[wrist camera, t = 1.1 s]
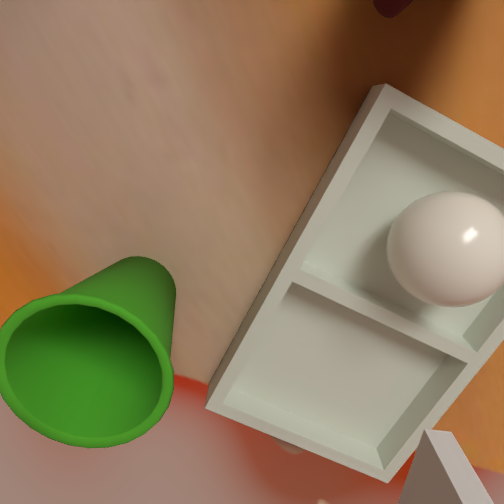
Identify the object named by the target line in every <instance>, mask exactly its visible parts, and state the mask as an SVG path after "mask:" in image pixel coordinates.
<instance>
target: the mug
mask: <svg viewBox="0 0 504 504" xmlns="http://www.w3.org/2000/svg"><path fill="white" fill-rule="evenodd" d="M412 1H413V0H373V3H374V6H375V8H376V9H377V11H378V12H379V13H380V14H381V15H383V16H385V17H387V18H391V17H394V16H396V15H397V14H398V13H400V12H401V11H402V10H403V9H404V8H406V7H407V6H408V5H409V4H410V3H411V2H412Z"/></svg>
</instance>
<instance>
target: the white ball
mask: <svg viewBox="0 0 504 504" xmlns="http://www.w3.org/2000/svg"><path fill="white" fill-rule="evenodd" d="M386 255H387V261H388V265H389V268H390V270H391V272H392V274H393V276H394V278H395V280H396V281H397V282H398V284H399V285H400V286H401V287H402V288H403V289H404V290H405V291H406V292H407V293H409V294H410V295H411V296H413V297H414V298H416V299H418V300H420V301H422V302H424V303H427V304H430V305H433V306H437V307H444V308H457V307H464V306H469V305H472V304H475V303H478V302H480V301H482V300H484V299H486V298H488V297H489V296H491V295H492V294H493V293H495V292H496V291H497V290H498V289H499V288H500V287H501V286H502V285H503V284H504V215H503V214H502V212H501V211H500V210H499V209H498V208H496V207H495V206H494V205H493V204H492V203H490V202H488V201H487V200H485V199H483V198H481V197H479V196H477V195H474V194H470V193H466V192H460V191H442V192H436V193H432V194H429V195H426V196H424V197H421V198H419V199H417V200H415V201H414V202H412V203H411V204H409V205H408V206H407V207H406V208H405V209H404V210H403V211H402V212H401V213H400V214H399V215H398V217H397V218H396V219H395V221H394V223H393V224H392V226H391V229H390V231H389V234H388V238H387V245H386Z"/></svg>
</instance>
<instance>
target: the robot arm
mask: <svg viewBox="0 0 504 504" xmlns="http://www.w3.org/2000/svg"><path fill="white" fill-rule="evenodd" d="M399 504H494V503H493V501H492V500H491V498H490V496H489V495H488V493H487V491H486V490H485V488H484V486H483V484H482V483H481V481H480V479H479V478H478V476H477V474H476V473H475V471H474V469H473V468H472V466H471V464H470V463H469V461H468V459H467V457H466V456H465V454H464V452H463V451H462V449H461V447H460V446H459V444H458V442H457V441H456V439H455V437H454V436H453V434H452V432H447V431H439V430H431V429H424V431H423V433H422V436H421V439H420V442H419V445H418V448H417V451H416V453H415V456H414V460H413V462H412V465H411V468H410V470H409V473H408V476H407V479H406V482H405V485H404V488H403V491H402V493H401V496H400V499H399Z"/></svg>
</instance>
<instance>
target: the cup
mask: <svg viewBox="0 0 504 504" xmlns="http://www.w3.org/2000/svg"><path fill="white" fill-rule="evenodd" d="M175 300H176V287H175V283H174V280H173V278H172V276H171V274H170V273H169V272H168V271H167V269H166V268H165V267H164V266H163V265H161V264H160V263H158V262H157V261H155V260H152V259H150V258H146V257H140V256H136V257H128V258H125V259H122V260H120V261H118V262H116V263H115V264H113V265H111V266H109V267H107V268H105V269H104V270H102V271H100V272H98V273H96V274H94V275H93V276H91V277H89V278H87V279H85V280H83V281H82V282H80V283H78V284H76V285H74V286H72V287H71V288H69V289H67V290H65V291H63V292H61V293H60V294H52V295H49V296H46V297H42V298H39V299H36V300H32V301H31V302H29V303H27V304H26V305H24V306H23V307H21V308H19V309H18V310H16V311H15V312H14V313H13V314H12V315H11V316H10V317H9V319H8V320H7V321H6V322H5V323H4V324H3V325H2V327H1V330H0V393H1V395H2V397H3V400H4V401H5V402H6V403H7V405H8V406H9V407H10V408H11V410H12V411H13V412H14V413H15V415H16V416H18V417H19V418H20V419H21V420H22V421H23V422H25V423H26V424H27V425H28V426H29V427H30V428H32V429H34V430H35V431H37V432H39V433H41V434H42V435H44V436H46V437H48V438H50V439H53V440H55V441H58V442H61V443H64V444H67V445H71V446H79V447H85V448H105V447H112V446H116V445H120V444H124V443H128V442H130V441H131V440H133V439H136V438H138V437H139V436H141V435H143V434H144V433H146V432H147V431H148V430H149V429H151V428H152V427H153V426H154V425H155V424H156V423H157V422H159V421H160V419H161V418H162V416H163V414H164V413H165V411H166V410H167V408H168V407H169V404H170V401H171V397H172V394H173V390H174V371H173V368H172V364H171V361H170V354H171V343H172V333H173V322H174V311H175Z"/></svg>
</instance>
